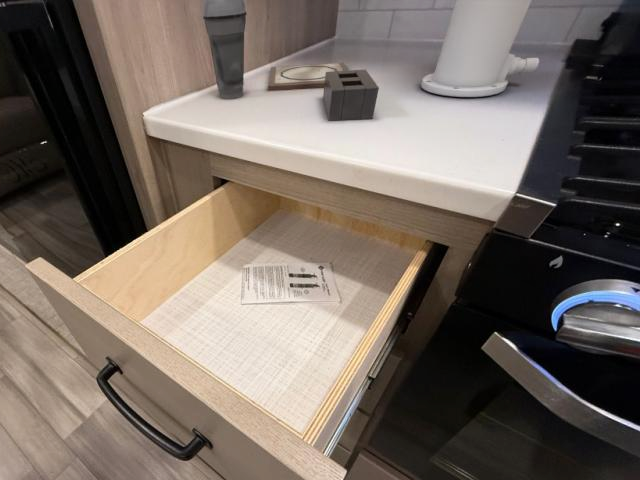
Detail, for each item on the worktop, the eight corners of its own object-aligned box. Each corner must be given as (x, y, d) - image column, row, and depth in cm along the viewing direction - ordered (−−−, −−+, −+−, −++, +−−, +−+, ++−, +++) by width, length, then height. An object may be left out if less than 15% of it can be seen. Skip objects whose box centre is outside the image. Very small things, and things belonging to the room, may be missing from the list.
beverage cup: (246, 100, 58) (237, -65, 44) (208, 101, 60) (187, -59, 45) (253, 89, 63) (247, -63, 49) (217, 90, 65) (202, -58, 50)
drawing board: (343, 66, 71) (344, 61, 70) (353, 85, 60) (354, 79, 59) (271, 71, 73) (271, 66, 72) (268, 90, 62) (268, 84, 61)
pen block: (360, 97, 55) (365, 69, 52) (372, 119, 48) (379, 87, 45) (322, 99, 56) (325, 71, 53) (328, 120, 48) (331, 90, 45)
